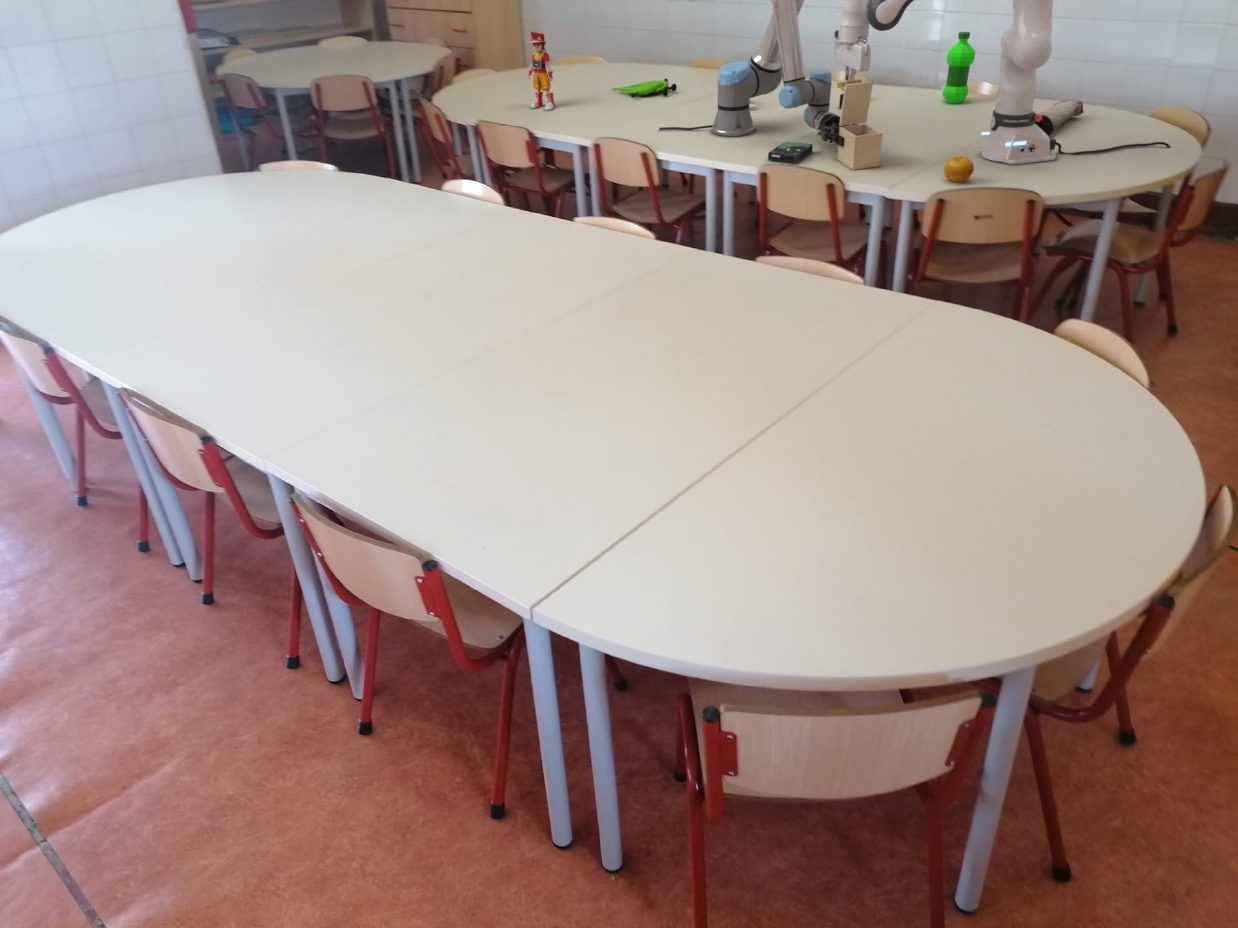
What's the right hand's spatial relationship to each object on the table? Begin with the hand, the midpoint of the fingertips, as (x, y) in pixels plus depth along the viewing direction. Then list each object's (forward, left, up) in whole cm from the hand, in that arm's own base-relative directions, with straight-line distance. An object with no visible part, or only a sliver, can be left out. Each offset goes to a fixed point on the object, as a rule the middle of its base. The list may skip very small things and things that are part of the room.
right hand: (849, 81), depth 293 cm
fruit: (-29, +34, -23) cm, 51 cm away
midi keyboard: (-15, -67, -23) cm, 73 cm away
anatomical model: (+29, -71, -23) cm, 80 cm away
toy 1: (+112, -86, -23) cm, 143 cm away
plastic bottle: (-54, -62, -23) cm, 86 cm away
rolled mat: (-78, -22, -23) cm, 85 cm away
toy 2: (+70, -105, -23) cm, 129 cm away
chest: (-3, +12, -23) cm, 26 cm away
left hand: (-3, +10, -17) cm, 19 cm away
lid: (-2, +7, -6) cm, 9 cm away
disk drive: (+18, +1, -23) cm, 30 cm away
